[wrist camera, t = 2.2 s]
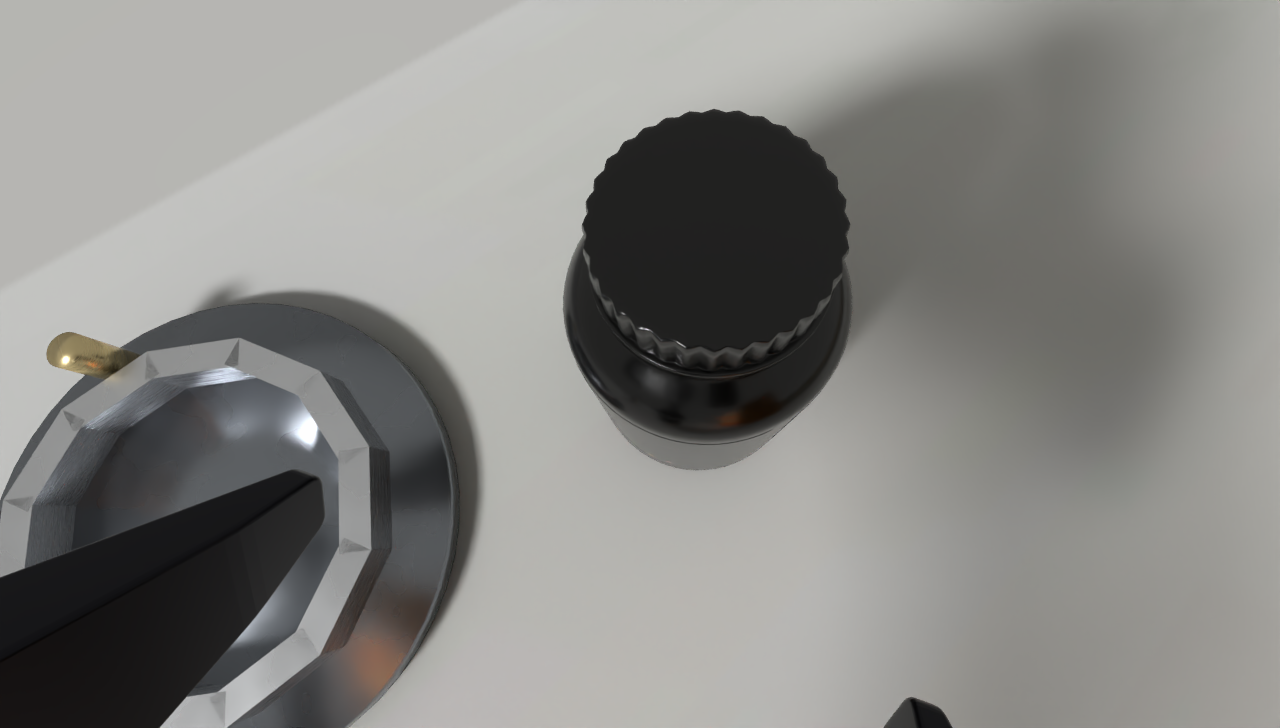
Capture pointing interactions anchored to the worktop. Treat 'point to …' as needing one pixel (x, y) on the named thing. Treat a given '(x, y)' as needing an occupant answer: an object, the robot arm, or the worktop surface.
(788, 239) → the supplement bottle
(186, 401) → the seat plate
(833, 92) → the worktop surface
